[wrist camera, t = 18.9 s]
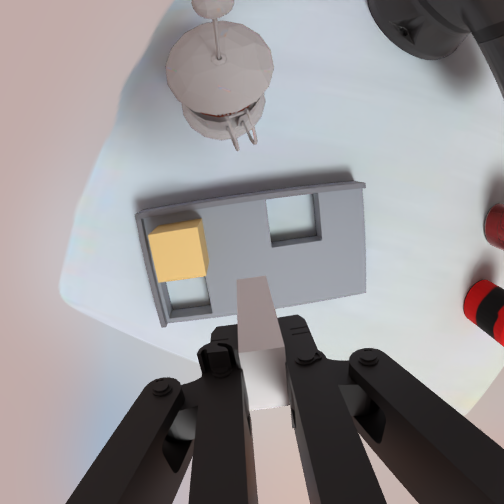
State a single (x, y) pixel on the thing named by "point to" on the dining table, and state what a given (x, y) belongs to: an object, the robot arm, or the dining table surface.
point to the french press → (220, 74)
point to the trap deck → (267, 249)
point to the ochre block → (179, 250)
